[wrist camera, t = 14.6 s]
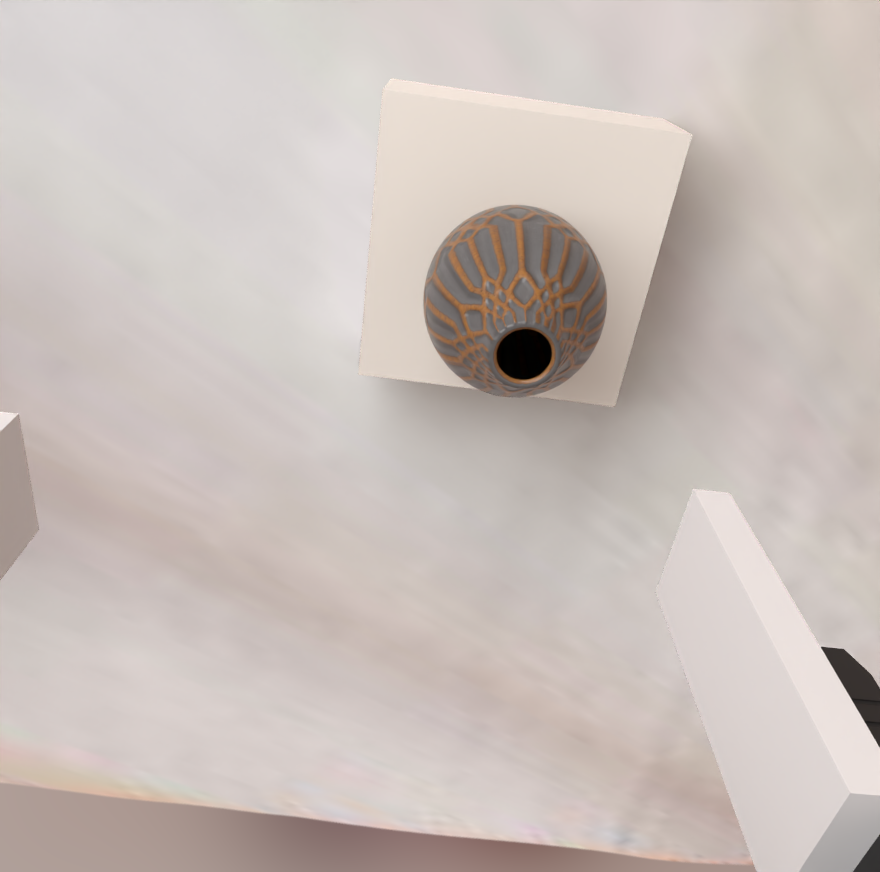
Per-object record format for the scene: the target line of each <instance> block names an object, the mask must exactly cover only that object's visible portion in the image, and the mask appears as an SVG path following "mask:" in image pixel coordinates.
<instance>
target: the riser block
mask: <svg viewBox="0 0 880 872" xmlns="http://www.w3.org/2000/svg"><path fill="white" fill-rule="evenodd" d="M691 138H692V134H690V133H688V132H686V131H685V130H683V129H681V128H679V127H678V126H676V125H674V124H672V123H671V122H669V121H667V120H665V119H663V118H656V117H649V116H643V115H636V114H629V113H622V112H616V111H609V110H602V109H595V108H589V107H582V106H575V105H568V104H562V103H555V102H548V101H541V100H534V99H528V98H521V97H514V96H507V95H501V94H494V93H487V92H480V91H474V90H467V89H460V88H453V87H447V86H440V85H433V84H426V83H420V82H413V81H406V80H399V79H393V78H391V80H390V81H389V82H388V83H387V85H386V86H385V87H384V88H383V91H382V102H381V114H380V126H379V137H378V149H377V161H376V172H375V184H374V196H373V207H372V219H371V231H370V243H369V254H368V266H367V278H366V289H365V301H364V313H363V324H362V336H361V348H360V359H359V371H358V375H366V376H374V377H382V378H390V379H398V380H405V381H413V382H421V383H429V384H437V385H445V386H453V387H461V388H468V389H476V390H479V389H477V388H475V387H473V386H471V385H469V384H468V383H466V382H465V381H463V380H462V379H461V378H459V377H458V376H457V375H456V374H455V373H454V372H453V371H452V370H451V369H450V368H449V367H448V366H447V365H446V364H445V362H444V361H443V360H442V359H441V357H440V356H439V354H438V353H437V351H436V349H435V347H434V345H433V343H432V341H431V339H430V336H429V333H428V330H427V327H426V323H425V318H424V308H423V295H424V286H425V281H426V277H427V273H428V269H429V267H430V264H431V262H432V259H433V257H434V255H435V253H436V251H437V250H438V248H439V246H440V245H441V243H442V242H443V241H444V239H445V238H446V237H447V236H448V235H449V234H450V233H451V232H452V231H453V230H454V229H455V228H456V227H457V226H458V225H460V224H461V223H462V222H463V221H465V220H467V219H468V218H470V217H471V216H473V215H475V214H477V213H479V212H482V211H484V210H487V209H490V208H494V207H498V206H504V205H526V206H533V207H537V208H541V209H544V210H547V211H549V212H552V213H554V214H556V215H558V216H560V217H561V218H563V219H564V220H566V221H567V222H569V223H570V224H571V225H572V226H573V227H574V228H576V229H577V230H578V231H579V232H580V233H581V234H582V236H583V237H584V238H585V239H586V240H587V242H588V243H589V245H590V246H591V248H592V249H593V251H594V253H595V254H596V256H597V258H598V261H599V263H600V265H601V268H602V271H603V274H604V278H605V283H606V290H607V311H606V317H605V323H604V327H603V330H602V333H601V336H600V339H599V341H598V343H597V345H596V347H595V349H594V351H593V353H592V354H591V356H590V357H589V359H588V360H587V361H586V363H585V364H584V365H583V366H582V367H581V368H580V369H579V370H578V371H577V372H576V373H575V374H574V375H573V376H572V377H571V378H569V379H568V380H567V381H565V382H564V383H562V384H561V385H559V386H557V387H555V388H553V389H551V390H549V391H546V392H544V393H540V394H537V395H532V397H539V398H547V399H555V400H563V401H571V402H579V403H587V404H595V405H603V406H610V407H615V405H616V401H617V398H618V394H619V391H620V387H621V384H622V380H623V377H624V373H625V370H626V366H627V363H628V359H629V356H630V352H631V348H632V345H633V341H634V338H635V334H636V331H637V327H638V324H639V320H640V317H641V313H642V310H643V306H644V303H645V299H646V296H647V292H648V289H649V285H650V282H651V278H652V275H653V271H654V268H655V264H656V261H657V257H658V254H659V250H660V247H661V243H662V240H663V236H664V233H665V229H666V226H667V222H668V219H669V215H670V212H671V208H672V205H673V201H674V198H675V194H676V191H677V187H678V184H679V180H680V177H681V173H682V170H683V166H684V162H685V159H686V155H687V152H688V148H689V145H690V141H691Z"/></svg>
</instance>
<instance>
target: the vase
mask: <svg viewBox="0 0 880 872" xmlns="http://www.w3.org/2000/svg"><path fill="white" fill-rule="evenodd" d="M423 308H424V318H425V323H426V327H427V330H428V333H429V336H430V339H431V341H432V343H433V345H434V347H435V349H436V351H437V353H438V354H439V356H440V357H441V359H442V360H443V361H444V362H445V364H446V365H447V366H448V367H449V368H450V369H451V370H452V371H453V372H454V373H455V374H456V375H457V376H458V377H459V378H461V379H462V380H463V381H465V382H466V383H468V384H469V385H471V386H473V387H475V388H477V389H479V390H481V391H484V392H487V393H490V394H493V395H498V396H504V397H526V396H532V395H537V394H540V393H544V392H546V391H549V390H551V389H553V388H555V387H557V386H559V385H561V384H562V383H564V382H565V381H567V380H568V379H569V378H571V377H572V376H573V375H574V374H575V373H576V372H577V371H578V370H579V369H580V368H581V367H582V366H583V365H584V364H585V363H586V361H587V360H588V359H589V357H590V356H591V354H592V353H593V351H594V349H595V347H596V345H597V343H598V341H599V339H600V336H601V333H602V330H603V327H604V323H605V317H606V311H607V290H606V283H605V278H604V274H603V271H602V268H601V265H600V263H599V261H598V258H597V256H596V254H595V253H594V251H593V249H592V248H591V246H590V245H589V243H588V242H587V240H586V239H585V238H584V237H583V236H582V234H581V233H580V232H579V231H578V230H577V229H576V228H574V227H573V226H572V225H571V224H570V223H569V222H567V221H566V220H564V219H563V218H561V217H560V216H558V215H556V214H554V213H552V212H549V211H547V210H544V209H541V208H537V207H533V206H526V205H504V206H498V207H494V208H490V209H487V210H484V211H482V212H479V213H477V214H475V215H473V216H471V217H470V218H468V219H467V220H465V221H463V222H462V223H461V224H460V225H458V226H457V227H456V228H455V229H454V230H453V231H452V232H451V233H450V234H449V235H448V236H447V237H446V238H445V239H444V241H443V242H442V243H441V245H440V246H439V248H438V250H437V251H436V253H435V255H434V257H433V259H432V262H431V264H430V267H429V269H428V273H427V277H426V281H425V286H424V295H423Z"/></svg>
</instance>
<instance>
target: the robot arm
mask: <svg viewBox="0 0 880 872" xmlns="http://www.w3.org/2000/svg"><path fill="white" fill-rule="evenodd" d="M38 530H39V527H38V521H37V515H36V510H35V504H34V498H33V492H32V487H31V481H30V475H29V470H28V464H27V458H26V453H25V447H24V441H23V435H22V430H21V424H20V418H19V414H18V413H9V412H0V580H1V579H2V578H3V576H4V575H5V574H6V572H7V571H8V570H9V568H10V567H11V566H12V564H13V563H14V562H15V560H16V559H17V558H18V557H19V555H20V554H21V553H22V551H23V550H24V549H25V547H26V546H27V545H28V543H29V542H30V541H31V539H32V538H33V537H34V535H35V534H36V533H37V531H38ZM655 593H656V596H657V598H658V601H659V604H660V607H661V610H662V612H663V615H664V618H665V621H666V623H667V626H668V629H669V632H670V634H671V637H672V640H673V643H674V645H675V648H676V651H677V654H678V656H679V659H680V662H681V665H682V667H683V670H684V673H685V676H686V679H687V681H688V684H689V687H690V690H691V692H692V695H693V698H694V701H695V703H696V706H697V709H698V712H699V714H700V717H701V720H702V723H703V725H704V728H705V731H706V734H707V736H708V739H709V742H710V745H711V748H712V750H713V753H714V756H715V759H716V761H717V764H718V767H719V770H720V772H721V775H722V778H723V781H724V783H725V786H726V789H727V792H728V794H729V797H730V800H731V803H732V805H733V808H734V811H735V814H736V817H737V819H738V822H739V825H740V828H741V830H742V833H743V836H744V839H745V841H746V844H747V847H748V850H749V852H750V855H751V858H752V861H753V863H754V866H755V869H756V872H880V688H879V686H878V685H877V683H876V682H875V680H874V678H873V677H872V675H871V674H870V673H869V672H868V671H867V670H866V669H865V668H864V667H862V666H861V665H860V664H859V663H858V662H857V661H856V660H855V659H854V658H853V657H852V656H851V655H850V654H848V653H847V652H846V651H845V650H844V649H837V648H827V647H820V645H819V644H818V642H817V640H816V638H815V637H814V635H813V633H812V632H811V630H810V628H809V626H808V625H807V623H806V621H805V620H804V618H803V616H802V615H801V613H800V611H799V609H798V608H797V606H796V604H795V603H794V601H793V599H792V598H791V596H790V594H789V592H788V591H787V589H786V587H785V586H784V584H783V582H782V581H781V579H780V577H779V575H778V574H777V572H776V570H775V569H774V567H773V565H772V563H771V562H770V560H769V558H768V557H767V555H766V553H765V552H764V550H763V548H762V546H761V545H760V543H759V541H758V540H757V538H756V536H755V535H754V533H753V531H752V529H751V528H750V526H749V524H748V523H747V521H746V519H745V518H744V516H743V514H742V512H741V511H740V509H739V507H738V506H737V504H736V502H735V500H734V499H733V497H732V495H731V494H730V493H727V492H718V491H709V490H700V489H693V490H692V493H691V496H690V498H689V501H688V504H687V507H686V509H685V512H684V515H683V518H682V520H681V523H680V526H679V528H678V531H677V534H676V537H675V539H674V542H673V545H672V548H671V550H670V553H669V556H668V559H667V561H666V564H665V567H664V570H663V572H662V575H661V578H660V581H659V583H658V586H657V589H656V592H655Z"/></svg>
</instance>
